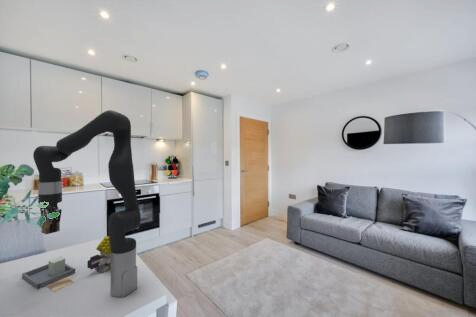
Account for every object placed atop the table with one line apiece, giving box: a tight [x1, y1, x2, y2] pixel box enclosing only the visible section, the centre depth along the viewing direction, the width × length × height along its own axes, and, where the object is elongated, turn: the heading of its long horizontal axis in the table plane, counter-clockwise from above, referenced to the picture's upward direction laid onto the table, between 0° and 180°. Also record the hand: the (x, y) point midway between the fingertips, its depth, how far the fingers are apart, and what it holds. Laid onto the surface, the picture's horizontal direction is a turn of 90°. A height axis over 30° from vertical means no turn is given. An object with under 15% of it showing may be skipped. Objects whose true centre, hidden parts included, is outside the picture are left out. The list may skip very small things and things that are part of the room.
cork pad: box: [45, 276, 75, 293], centre depth 85 cm, size 7×7×1 cm
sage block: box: [48, 256, 66, 276], centre depth 93 cm, size 4×4×6 cm
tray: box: [21, 263, 76, 290], centre depth 91 cm, size 16×13×2 cm
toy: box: [86, 235, 111, 274], centre depth 96 cm, size 10×13×15 cm
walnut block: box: [40, 218, 61, 235], centre depth 86 cm, size 4×4×6 cm
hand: (50, 231), depth 86 cm, fingers closed on walnut block, 4 cm apart
